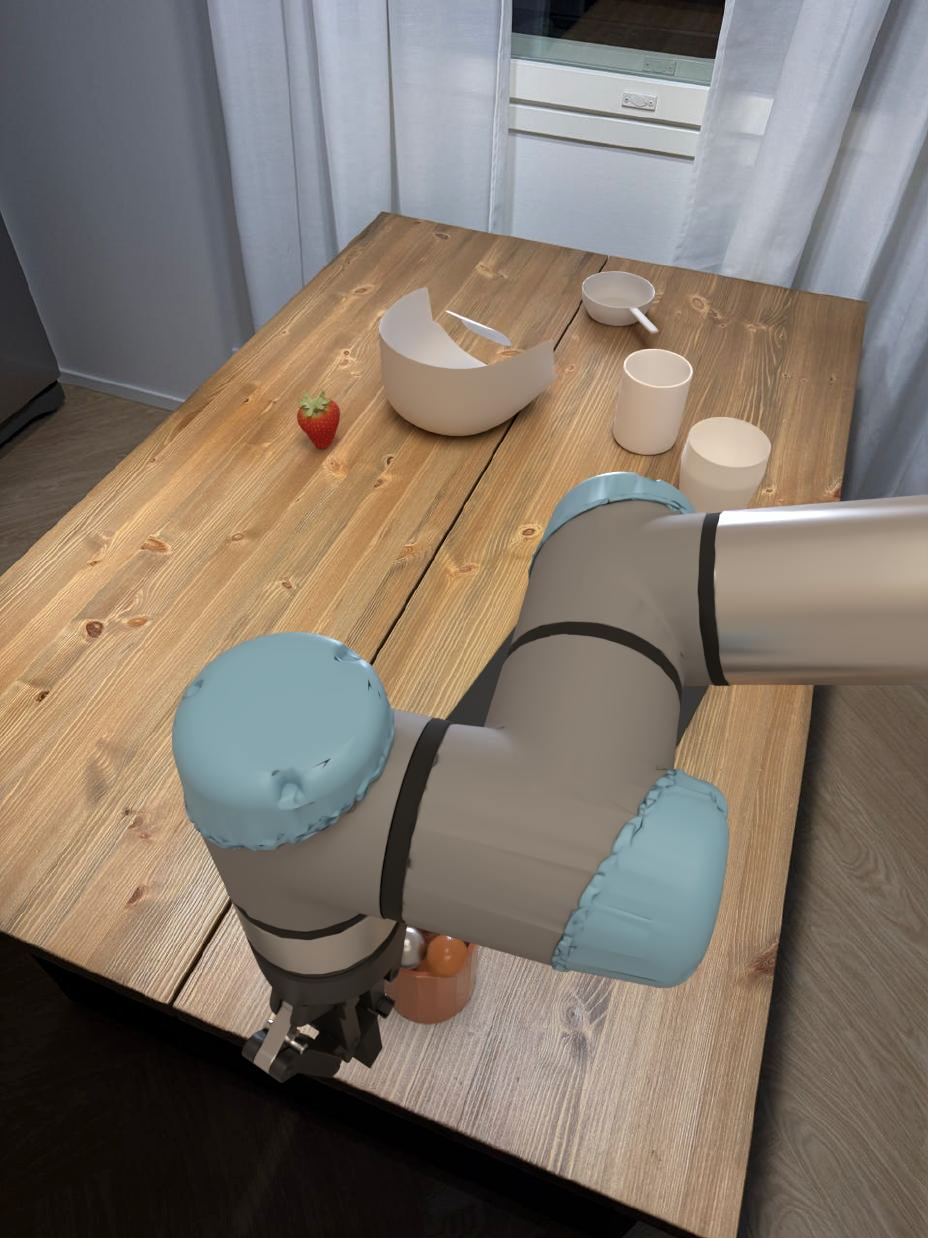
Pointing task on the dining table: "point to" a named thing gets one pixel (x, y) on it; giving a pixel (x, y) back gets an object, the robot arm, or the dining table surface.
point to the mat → (483, 688)
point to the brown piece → (446, 956)
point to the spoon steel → (413, 948)
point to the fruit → (319, 419)
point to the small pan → (618, 299)
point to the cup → (723, 464)
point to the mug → (651, 401)
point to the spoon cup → (432, 989)
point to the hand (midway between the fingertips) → (359, 1047)
